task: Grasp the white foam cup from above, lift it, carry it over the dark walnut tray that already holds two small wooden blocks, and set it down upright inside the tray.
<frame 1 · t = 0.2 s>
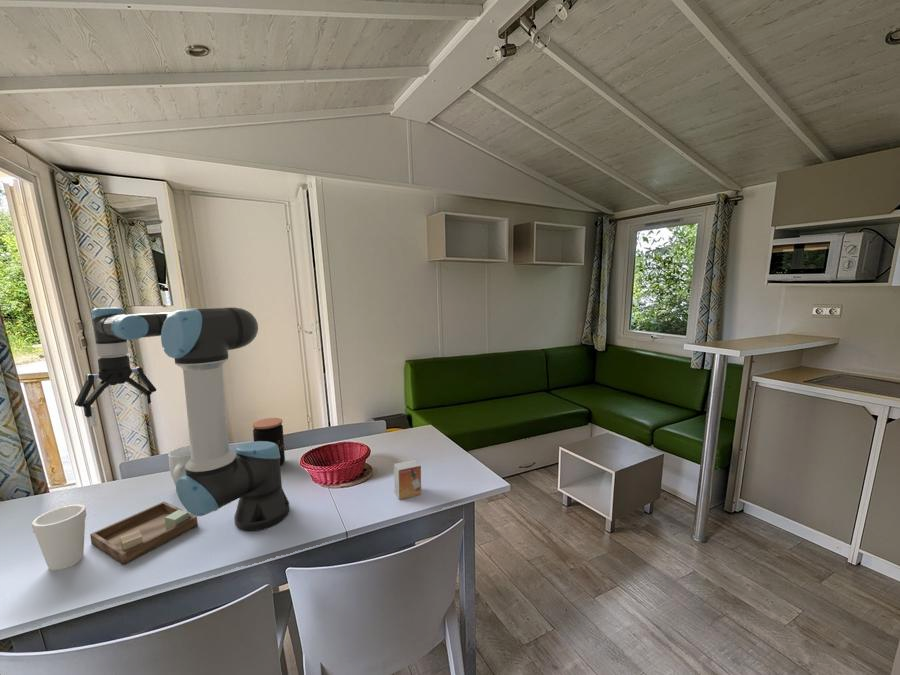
hand: (121, 419, 122), 28 cm above the table, fingers open, 13 cm apart
foam cup: (66, 562, 97), on the table
coffee jar: (270, 465, 150), on the table
tray: (146, 534, 107), on the table
block b: (132, 550, 100), point 1 cm above the table, touching tray
block a: (178, 527, 109), point 1 cm above the table, touching tray
small box: (407, 494, 128), on the table
mug: (189, 486, 134), on the table
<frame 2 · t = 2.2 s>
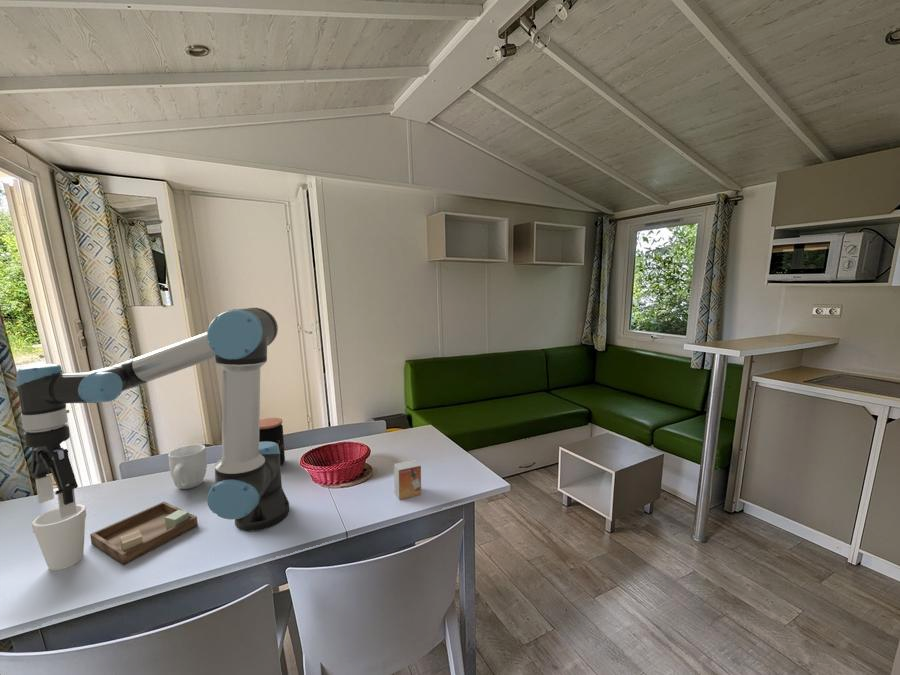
hand: (57, 507, 95), 15 cm above the table, fingers open, 13 cm apart
nothing on the table moved.
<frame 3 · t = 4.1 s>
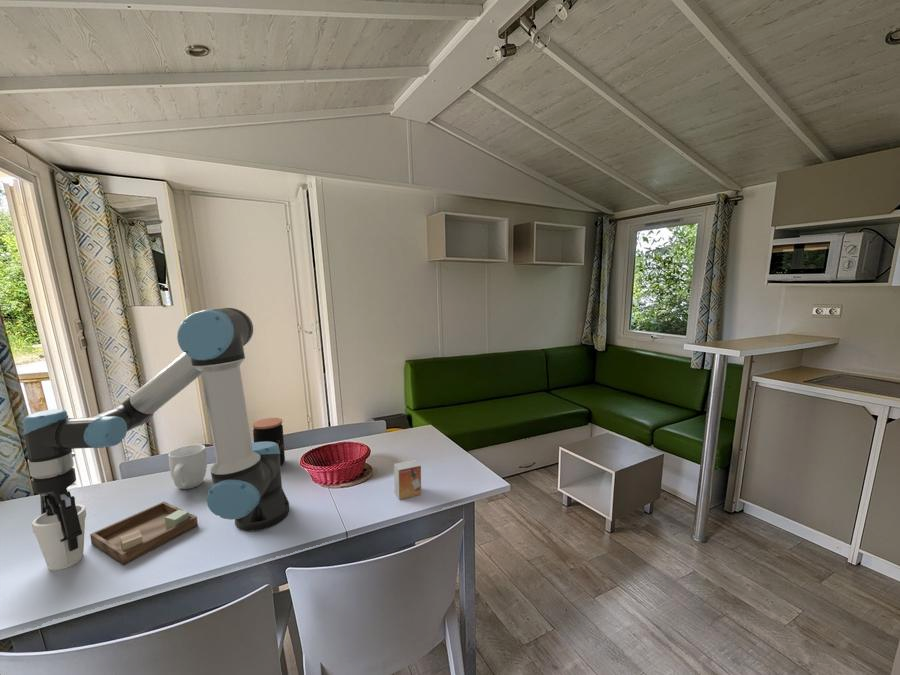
hand: (65, 554, 96), 2 cm above the table, fingers closed on foam cup, 9 cm apart
foam cup: (66, 562, 97), on the table, touching gripper
everything else where it was.
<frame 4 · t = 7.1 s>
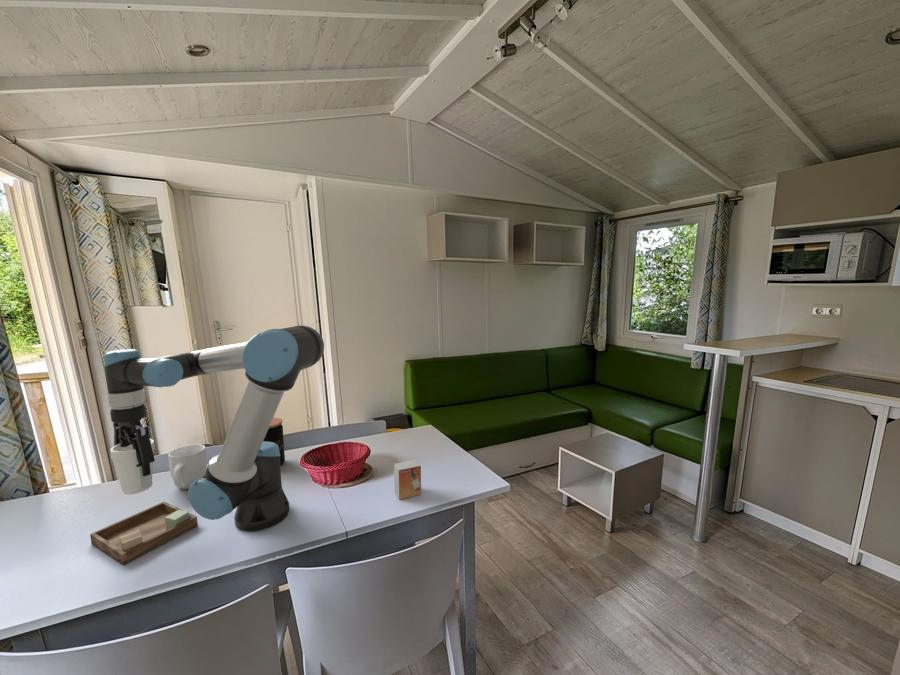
hand: (136, 481, 106), 16 cm above the table, fingers closed on foam cup, 9 cm apart
foam cup: (137, 489, 106), point 13 cm above the table, touching gripper
everything else where it was.
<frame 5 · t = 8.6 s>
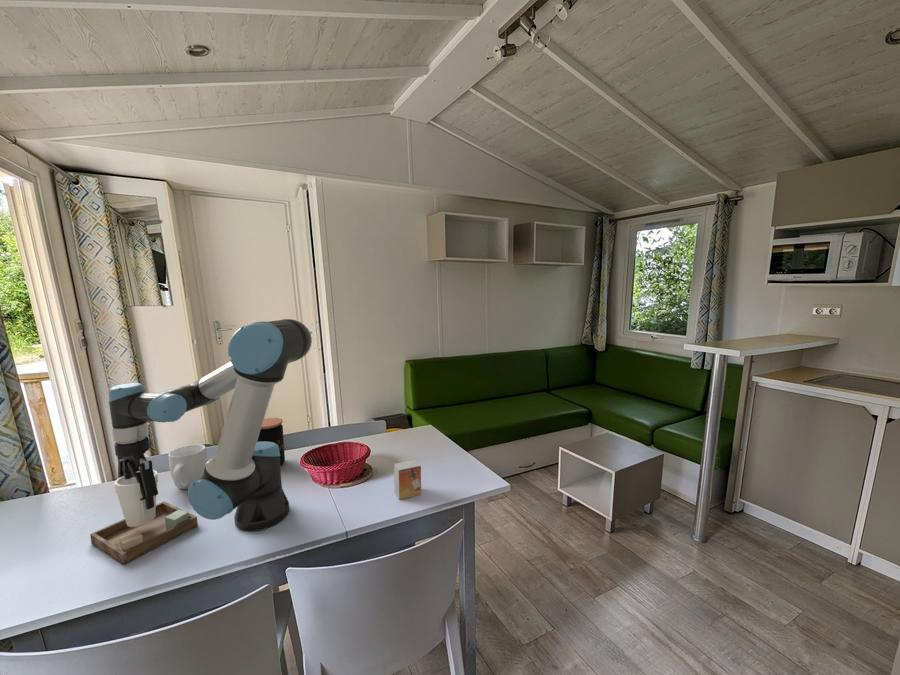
hand: (140, 513, 107), 6 cm above the table, fingers closed on foam cup, 9 cm apart
foam cup: (141, 520, 108), point 4 cm above the table, touching gripper
everything else where it was.
when the fingers open (5 cm above the table, at t = 9.9 s): foam cup drops 2 cm, resting on tray.
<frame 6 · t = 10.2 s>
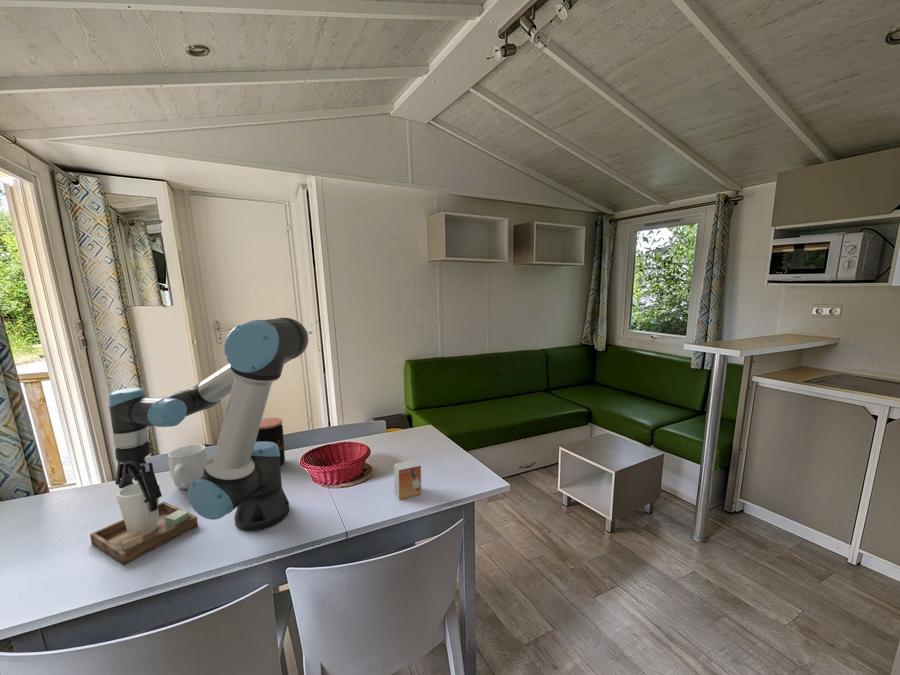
hand: (140, 514, 107), 6 cm above the table, fingers open, 13 cm apart
foam cup: (143, 531, 108), resting on tray
everything else where it was.
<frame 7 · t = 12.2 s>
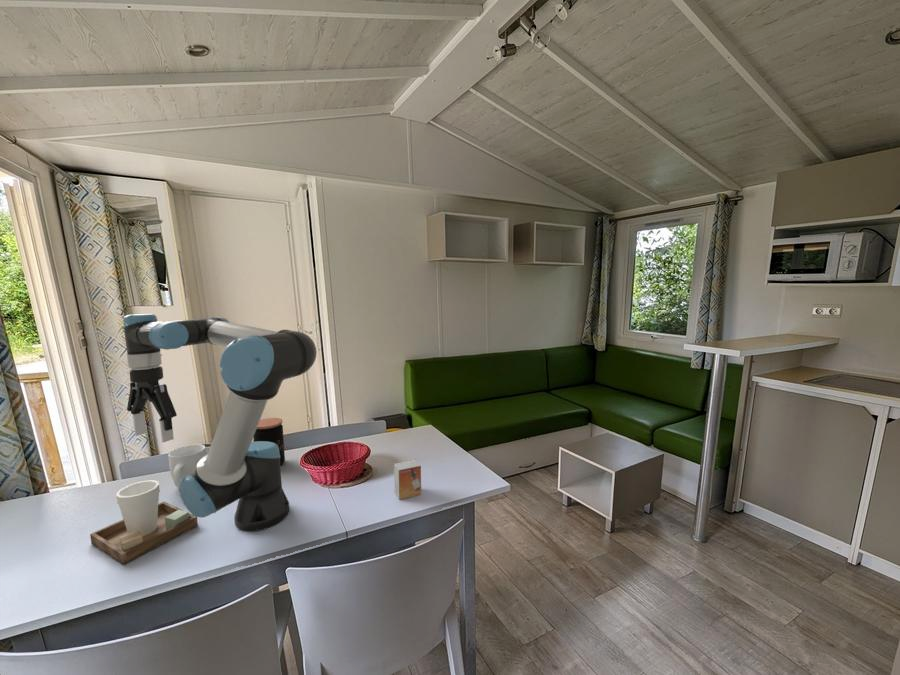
hand: (154, 437, 111), 26 cm above the table, fingers open, 13 cm apart
nothing on the table moved.
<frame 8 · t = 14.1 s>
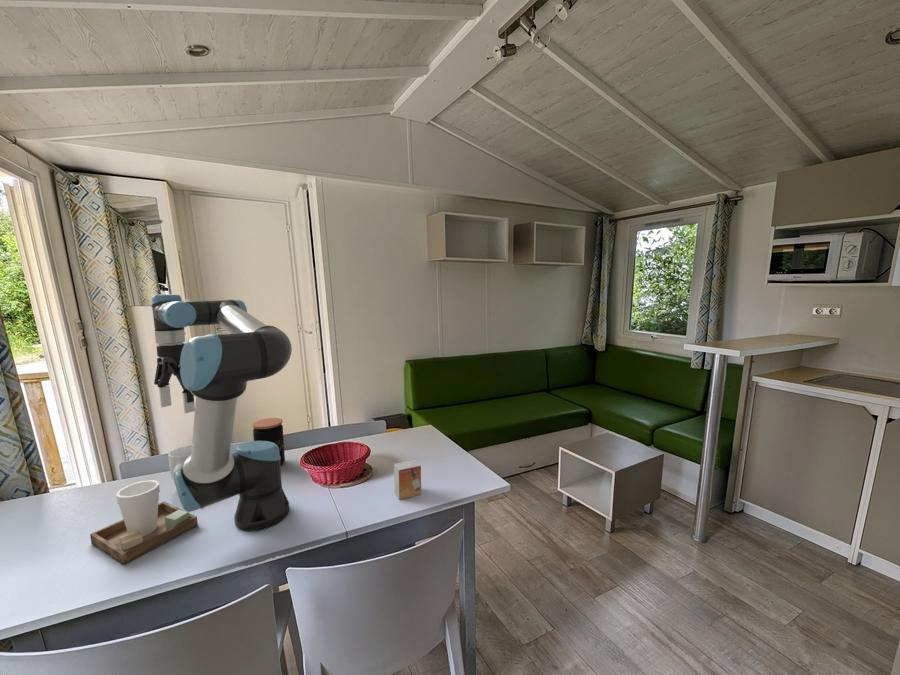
hand: (177, 409, 120), 32 cm above the table, fingers open, 13 cm apart
nothing on the table moved.
at the end: foam cup inside the target area on the tray (1.8 cm from its centre), point 0.4 cm above the tray's base; foam cup tilted 0°; the gripper is holding nothing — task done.
